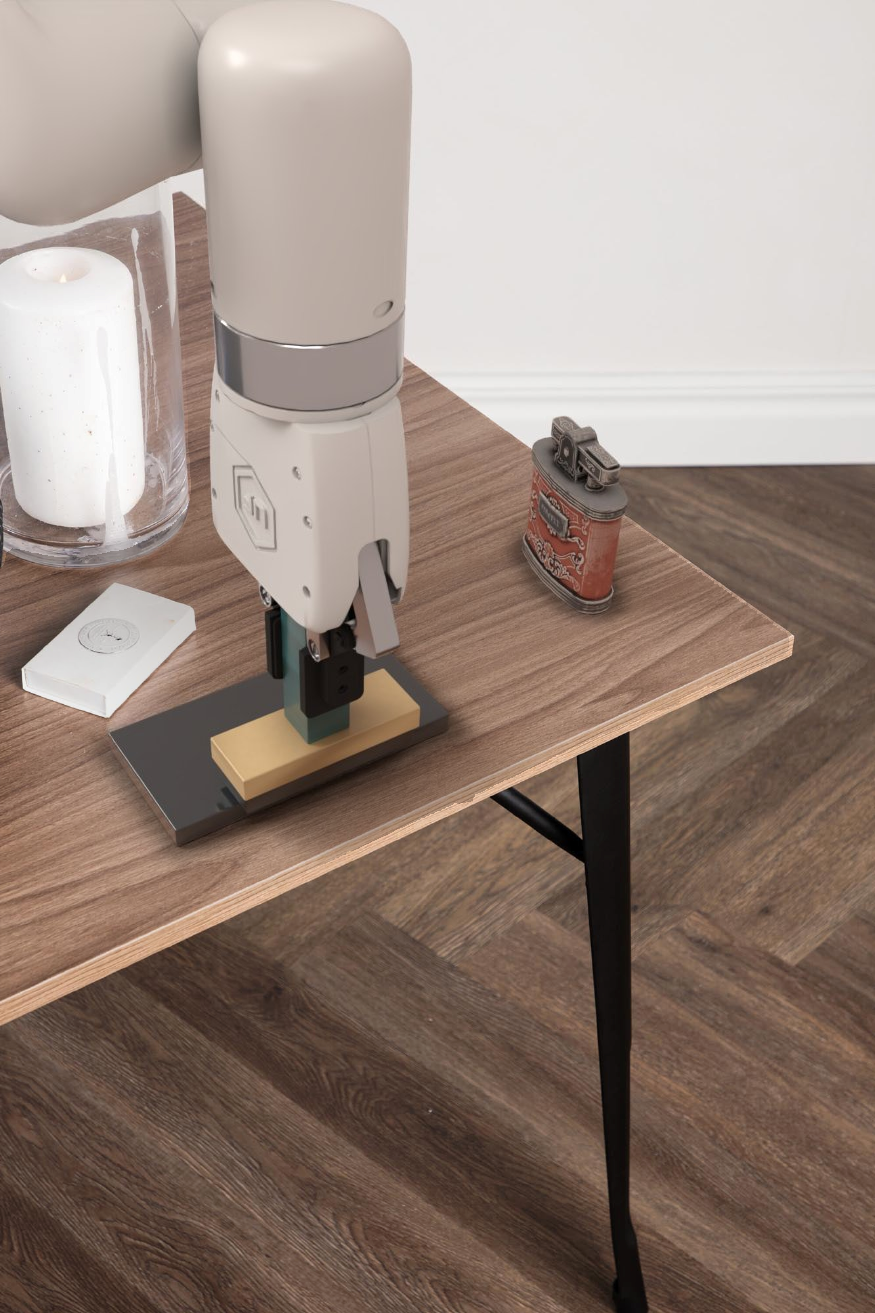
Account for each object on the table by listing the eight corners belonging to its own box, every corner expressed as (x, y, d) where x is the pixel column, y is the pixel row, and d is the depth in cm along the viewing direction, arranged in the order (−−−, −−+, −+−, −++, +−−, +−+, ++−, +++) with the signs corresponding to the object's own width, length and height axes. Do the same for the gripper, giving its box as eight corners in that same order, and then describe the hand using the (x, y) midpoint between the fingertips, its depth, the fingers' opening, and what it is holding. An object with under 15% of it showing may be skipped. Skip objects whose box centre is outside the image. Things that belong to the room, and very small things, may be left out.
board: (177, 847, 69) (175, 831, 68) (109, 748, 74) (107, 732, 73) (449, 730, 76) (450, 713, 75) (370, 646, 81) (371, 630, 80)
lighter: (509, 545, 89) (523, 406, 82) (556, 532, 90) (572, 395, 84) (576, 619, 84) (596, 478, 77) (624, 605, 85) (648, 464, 78)
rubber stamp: (246, 819, 68) (235, 653, 61) (212, 774, 71) (198, 609, 64) (419, 743, 73) (427, 581, 66) (382, 704, 75) (387, 542, 68)
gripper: (136, 282, 60) (170, 620, 72) (332, 466, 50) (333, 822, 62) (292, 245, 63) (300, 574, 75) (504, 410, 53) (474, 759, 65)
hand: (315, 683), depth 68 cm, fingers closed on rubber stamp, 2 cm apart
